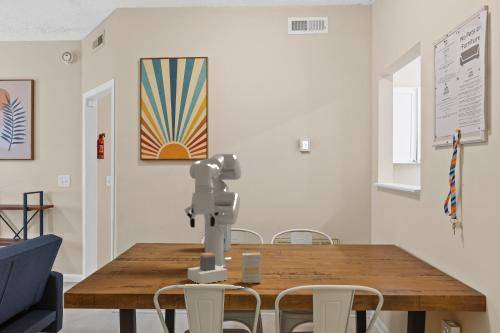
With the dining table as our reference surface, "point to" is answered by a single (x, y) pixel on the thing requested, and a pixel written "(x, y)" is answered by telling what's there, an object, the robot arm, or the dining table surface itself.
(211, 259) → the grey cylinder
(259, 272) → the supplement box
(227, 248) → the hard drive box
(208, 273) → the socket block
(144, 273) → the dining table surface
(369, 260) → the dining table surface
